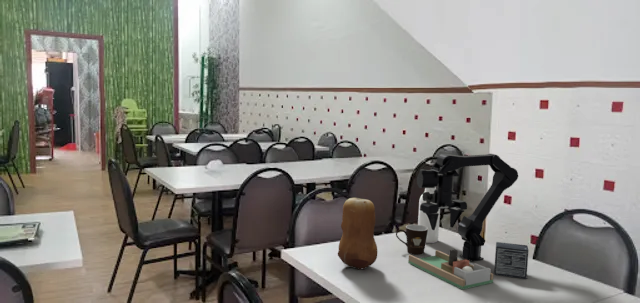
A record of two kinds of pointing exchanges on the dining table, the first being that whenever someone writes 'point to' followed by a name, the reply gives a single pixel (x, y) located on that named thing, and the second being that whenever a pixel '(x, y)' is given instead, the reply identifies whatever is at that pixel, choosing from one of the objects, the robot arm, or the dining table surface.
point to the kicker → (454, 262)
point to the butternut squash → (358, 234)
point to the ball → (467, 269)
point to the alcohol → (424, 220)
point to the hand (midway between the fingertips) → (442, 228)
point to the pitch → (460, 276)
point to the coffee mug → (415, 238)
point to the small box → (511, 260)
